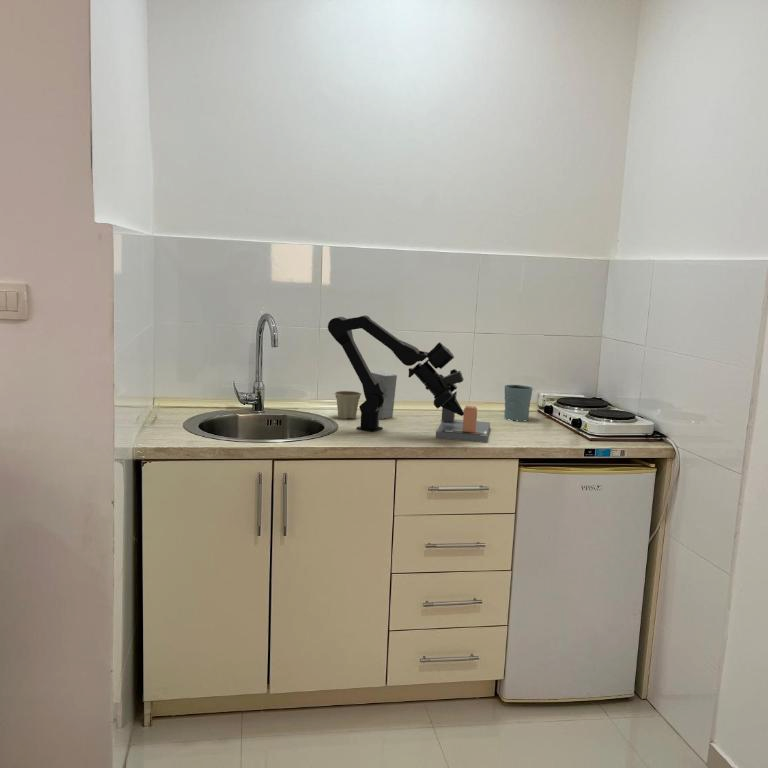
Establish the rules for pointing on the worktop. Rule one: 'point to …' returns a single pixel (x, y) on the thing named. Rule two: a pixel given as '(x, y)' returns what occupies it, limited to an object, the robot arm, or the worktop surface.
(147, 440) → the worktop surface
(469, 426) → the switch knob
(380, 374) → the grey vase
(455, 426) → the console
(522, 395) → the blue-grey tapered cup
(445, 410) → the switch knob
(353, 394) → the flower pot
